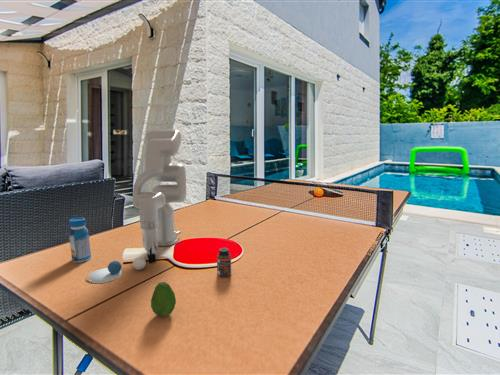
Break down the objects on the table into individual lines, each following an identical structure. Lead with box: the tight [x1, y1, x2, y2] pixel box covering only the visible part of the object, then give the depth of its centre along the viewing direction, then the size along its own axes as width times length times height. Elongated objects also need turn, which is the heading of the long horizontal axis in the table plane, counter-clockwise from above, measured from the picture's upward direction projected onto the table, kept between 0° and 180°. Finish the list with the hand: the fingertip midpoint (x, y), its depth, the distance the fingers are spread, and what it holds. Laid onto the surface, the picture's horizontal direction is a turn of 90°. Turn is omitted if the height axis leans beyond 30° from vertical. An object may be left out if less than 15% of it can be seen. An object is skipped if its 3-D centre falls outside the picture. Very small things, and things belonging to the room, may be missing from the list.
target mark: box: [85, 267, 123, 284], centre depth 137 cm, size 14×14×1 cm
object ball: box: [107, 260, 123, 274], centre depth 138 cm, size 6×6×6 cm
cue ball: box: [132, 256, 147, 271], centre depth 142 cm, size 6×6×6 cm
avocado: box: [150, 281, 177, 318], centre depth 107 cm, size 8×8×12 cm
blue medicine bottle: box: [68, 216, 92, 263], centre depth 151 cm, size 8×8×20 cm
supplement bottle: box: [216, 247, 232, 278], centre depth 135 cm, size 6×6×11 cm
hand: (152, 262), depth 146 cm, fingers closed
